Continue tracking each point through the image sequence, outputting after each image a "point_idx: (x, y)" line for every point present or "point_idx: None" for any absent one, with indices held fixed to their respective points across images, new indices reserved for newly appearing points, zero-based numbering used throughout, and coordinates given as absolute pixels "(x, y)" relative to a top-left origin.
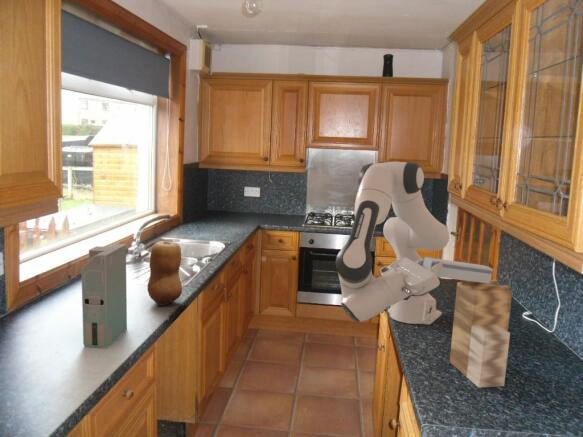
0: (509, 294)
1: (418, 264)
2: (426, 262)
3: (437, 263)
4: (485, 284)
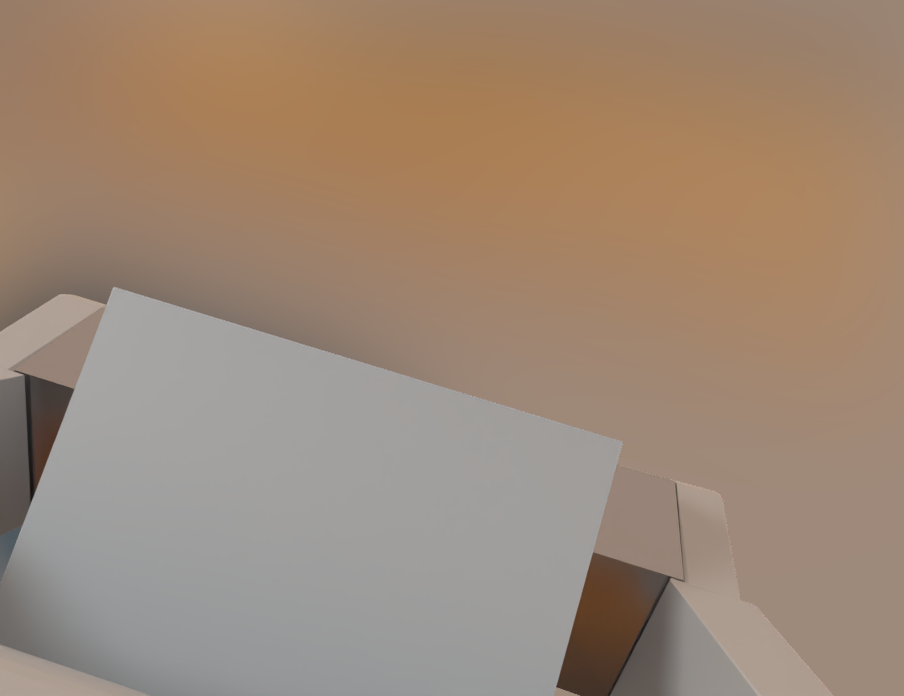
0: None
1: (45, 683)
2: (243, 493)
3: (689, 524)
4: None
